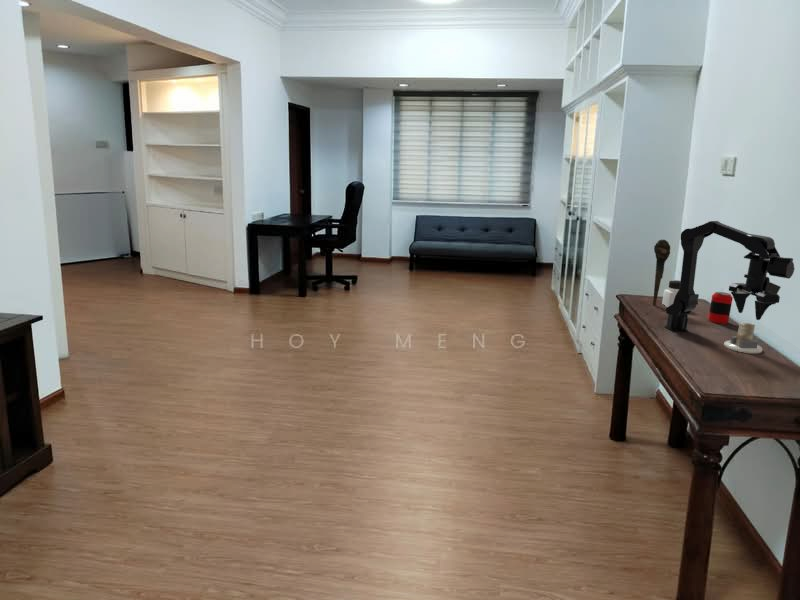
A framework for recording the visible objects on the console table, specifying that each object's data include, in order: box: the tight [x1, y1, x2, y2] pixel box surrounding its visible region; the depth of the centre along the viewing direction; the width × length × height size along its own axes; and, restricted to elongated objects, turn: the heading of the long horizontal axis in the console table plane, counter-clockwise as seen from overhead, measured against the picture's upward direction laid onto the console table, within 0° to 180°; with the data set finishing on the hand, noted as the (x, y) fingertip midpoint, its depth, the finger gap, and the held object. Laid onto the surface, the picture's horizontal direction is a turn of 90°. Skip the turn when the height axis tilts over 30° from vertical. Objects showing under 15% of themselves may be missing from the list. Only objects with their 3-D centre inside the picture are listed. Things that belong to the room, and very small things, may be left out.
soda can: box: [707, 291, 734, 325], centre depth 249 cm, size 8×8×12 cm
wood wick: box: [736, 322, 756, 346], centre depth 214 cm, size 4×2×8 cm, turn 97°
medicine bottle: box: [661, 279, 681, 308], centre depth 272 cm, size 7×7×12 cm
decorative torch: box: [652, 239, 671, 306], centre depth 270 cm, size 7×7×30 cm
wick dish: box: [723, 335, 763, 354], centre depth 215 cm, size 12×12×4 cm
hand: (749, 316), depth 212 cm, fingers open, 9 cm apart
